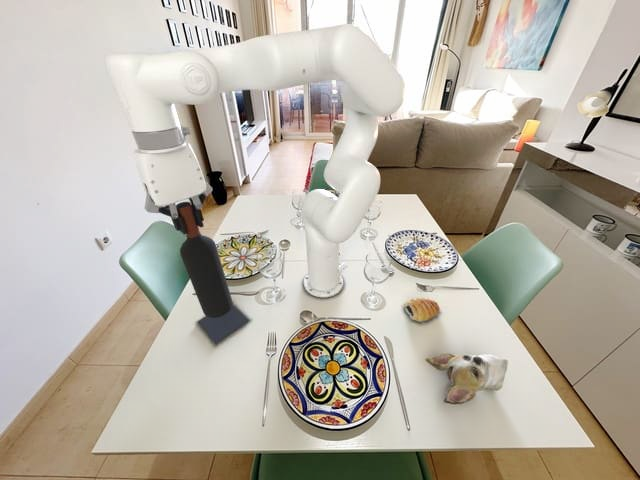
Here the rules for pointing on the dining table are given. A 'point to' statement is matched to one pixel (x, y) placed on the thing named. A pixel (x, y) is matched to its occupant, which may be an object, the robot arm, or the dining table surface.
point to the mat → (223, 324)
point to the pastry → (421, 309)
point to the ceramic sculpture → (470, 374)
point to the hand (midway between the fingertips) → (191, 227)
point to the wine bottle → (204, 267)
